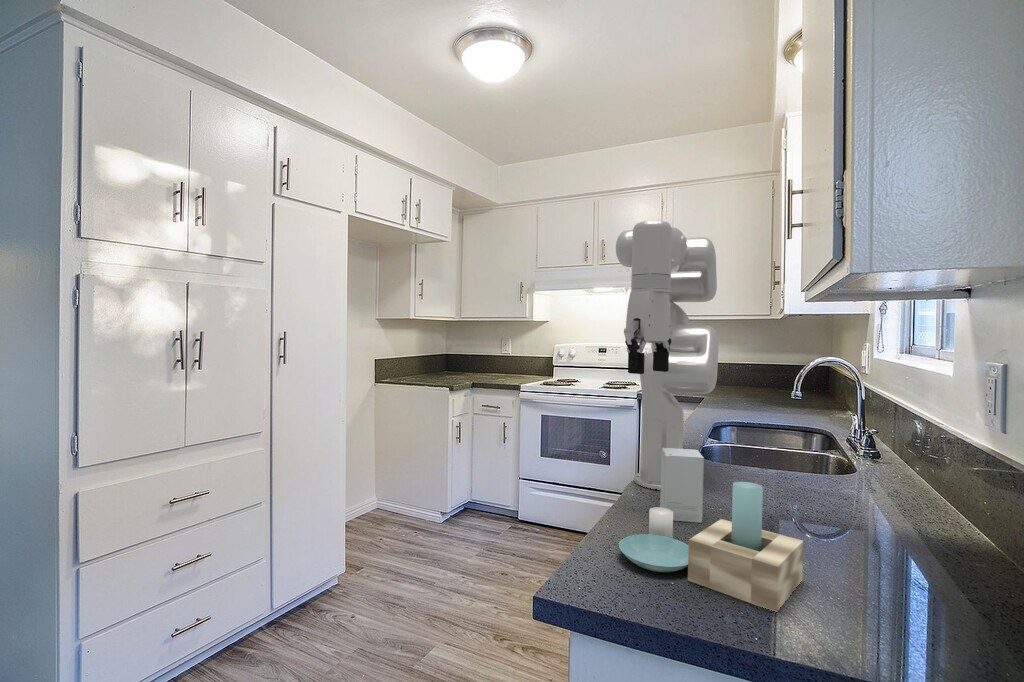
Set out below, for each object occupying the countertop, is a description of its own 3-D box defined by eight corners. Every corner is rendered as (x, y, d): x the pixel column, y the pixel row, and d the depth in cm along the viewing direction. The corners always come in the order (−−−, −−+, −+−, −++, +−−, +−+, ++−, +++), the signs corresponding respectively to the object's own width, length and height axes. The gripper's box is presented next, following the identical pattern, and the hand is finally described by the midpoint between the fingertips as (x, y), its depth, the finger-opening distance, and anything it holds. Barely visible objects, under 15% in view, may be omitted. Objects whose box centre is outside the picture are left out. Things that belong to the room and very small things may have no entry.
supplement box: (703, 523, 98) (704, 457, 97) (662, 520, 99) (664, 455, 99) (697, 510, 105) (698, 449, 105) (659, 507, 106) (661, 446, 106)
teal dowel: (736, 571, 78) (738, 480, 78) (764, 580, 75) (766, 485, 75) (726, 580, 75) (728, 485, 75) (754, 590, 72) (757, 491, 72)
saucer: (694, 553, 85) (695, 539, 85) (698, 586, 74) (698, 570, 74) (622, 543, 88) (622, 530, 88) (614, 573, 77) (615, 558, 77)
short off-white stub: (655, 533, 93) (656, 505, 93) (676, 539, 90) (677, 511, 90) (644, 539, 90) (645, 510, 90) (665, 546, 87) (666, 516, 87)
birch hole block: (720, 555, 84) (721, 518, 84) (802, 581, 75) (803, 540, 75) (687, 580, 75) (688, 539, 75) (776, 612, 67) (777, 566, 67)
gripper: (654, 289, 110) (652, 369, 110) (610, 282, 97) (608, 373, 98) (688, 287, 105) (686, 371, 105) (646, 280, 92) (643, 376, 92)
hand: (648, 372), depth 101 cm, fingers open, 9 cm apart
